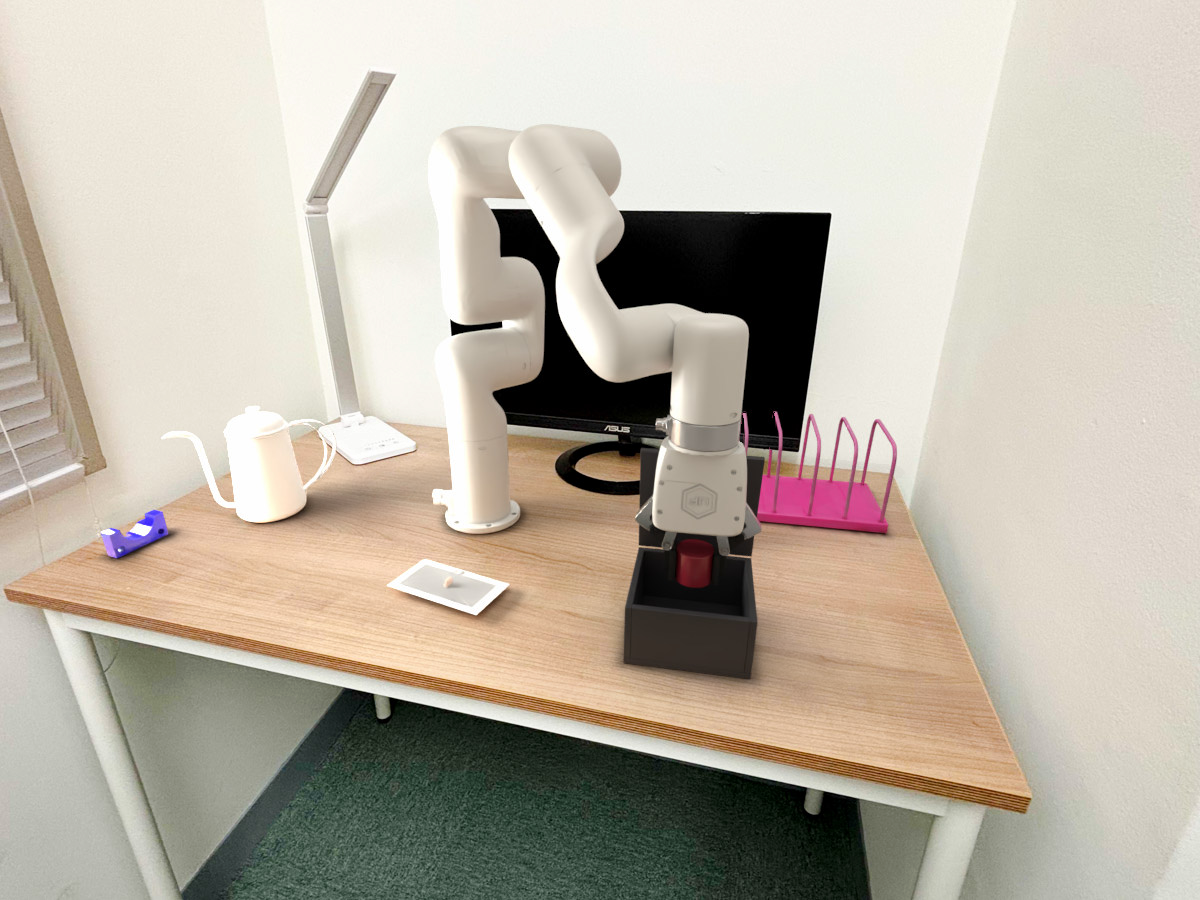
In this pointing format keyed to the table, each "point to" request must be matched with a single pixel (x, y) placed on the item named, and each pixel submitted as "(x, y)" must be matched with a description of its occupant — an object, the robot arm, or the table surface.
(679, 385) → the robot arm
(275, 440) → the coffeepot
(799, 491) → the file sorter
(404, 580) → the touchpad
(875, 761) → the table surface
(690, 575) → the red cylinder
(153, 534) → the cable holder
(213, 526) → the table surface
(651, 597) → the dark grey box
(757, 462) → the lid
